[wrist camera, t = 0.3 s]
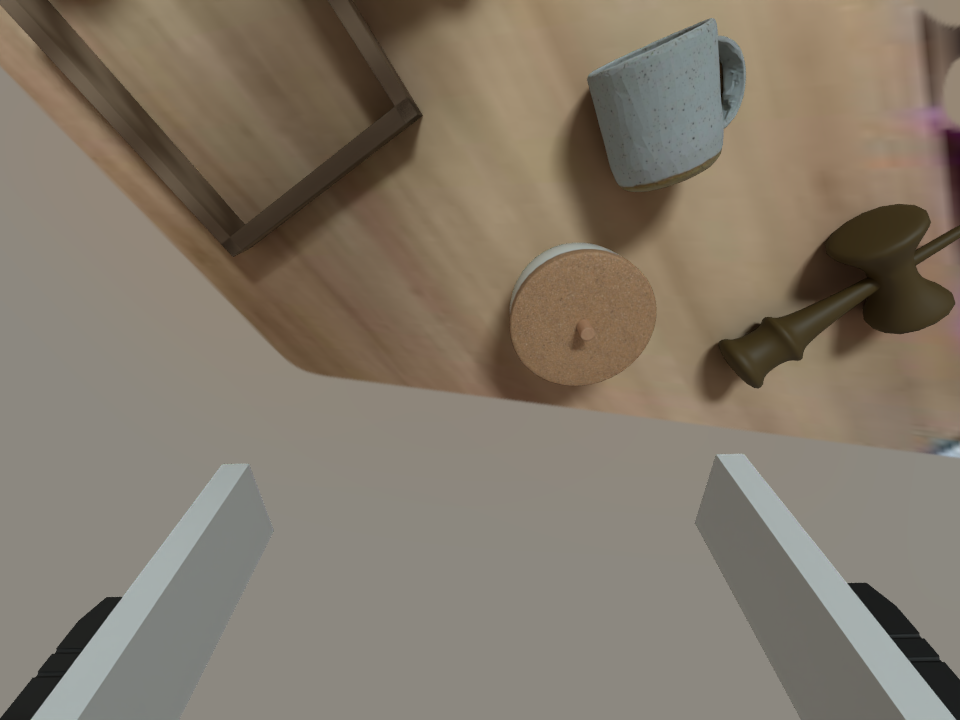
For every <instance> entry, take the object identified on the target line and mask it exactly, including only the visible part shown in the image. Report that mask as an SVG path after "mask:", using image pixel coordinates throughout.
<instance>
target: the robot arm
mask: <svg viewBox="0 0 960 720" xmlns="http://www.w3.org/2000/svg"><path fill="white" fill-rule="evenodd" d="M695 524H696V526H697V528H698V530H699V532H700V533H701V535H702V537H703V539H704V541H705V543H706V545H707V546H708V548H709V550H710V552H711V554H712V556H713V557H714V559H715V561H716V563H717V565H718V567H719V569H720V570H721V572H722V574H723V576H724V578H725V580H726V582H727V583H728V585H729V587H730V589H731V591H732V593H733V595H734V596H735V598H736V600H737V602H738V604H739V605H740V607H741V609H742V611H743V613H744V615H745V617H746V619H747V620H748V622H749V624H750V626H751V628H752V630H753V631H754V633H755V635H756V637H757V639H758V641H759V643H760V645H761V646H762V648H763V650H764V652H765V654H766V655H767V658H768V659H769V661H770V663H771V665H772V667H773V668H774V670H775V672H776V674H777V676H778V678H779V680H780V682H781V683H782V685H783V687H784V689H785V691H786V693H787V695H788V696H789V698H790V700H791V702H792V704H793V706H794V708H795V709H796V711H797V713H798V715H799V717H800V719H801V720H960V679H959V678H958V677H957V676H956V675H955V674H954V672H953V671H952V670H951V669H950V668H949V667H948V666H947V664H946V663H945V662H942V661H941V660H940V659H939V655H938V654H937V653H936V652H935V651H934V649H933V648H932V647H931V646H930V645H929V644H928V642H927V641H926V640H925V639H922V638H921V637H920V635H919V632H918V631H917V630H916V628H915V627H914V626H913V625H912V624H911V623H910V622H909V620H908V619H907V618H906V617H905V616H904V615H903V613H902V612H901V611H900V610H899V609H898V608H897V606H895V605H894V604H893V603H892V602H890V601H889V600H888V599H887V598H885V597H884V596H883V595H881V594H880V593H879V592H878V591H876V590H875V589H874V588H872V587H871V586H870V585H869V584H867V583H846V581H845V580H844V579H843V578H842V577H841V575H840V574H839V573H838V571H837V570H836V569H835V568H834V566H833V565H832V564H831V563H830V561H829V560H828V559H827V558H826V556H825V555H824V554H823V553H822V551H821V550H820V549H819V548H818V546H817V545H816V544H815V543H814V541H813V540H812V539H811V538H810V536H809V535H808V534H807V533H806V531H805V530H804V529H803V528H802V526H801V525H800V524H799V523H798V521H797V520H796V519H795V518H794V516H793V515H792V514H791V513H790V511H789V510H788V509H787V508H786V506H785V505H784V504H783V503H782V501H781V500H780V499H779V498H778V496H777V495H776V494H775V493H774V491H773V490H772V489H771V487H770V486H769V485H768V484H767V482H766V481H765V480H764V479H763V478H762V476H761V475H760V474H759V473H758V471H757V470H756V469H755V468H754V466H753V465H752V464H751V462H750V461H749V460H748V459H747V457H746V456H745V455H744V454H716V456H715V460H714V463H713V466H712V469H711V472H710V475H709V479H708V482H707V485H706V488H705V492H704V495H703V498H702V501H701V504H700V508H699V511H698V514H697V517H696V521H695ZM273 532H274V530H273V527H272V524H271V521H270V519H269V516H268V514H267V511H266V508H265V505H264V503H263V500H262V497H261V495H260V492H259V489H258V486H257V484H256V481H255V479H254V476H253V473H252V470H251V467H250V465H249V464H222V465H221V467H220V468H219V469H218V471H217V472H216V473H215V475H214V476H213V477H212V479H211V480H210V481H209V483H208V484H207V485H206V487H205V488H204V489H203V491H202V492H201V493H200V495H199V496H198V497H197V499H196V500H195V501H194V503H193V504H192V505H191V507H190V508H189V509H188V511H187V512H186V513H185V515H184V516H183V517H182V519H181V520H180V521H179V523H178V524H177V525H176V527H175V528H174V529H173V531H172V532H171V533H170V535H169V536H168V537H167V539H166V540H165V541H164V543H163V544H162V546H161V547H160V548H159V549H158V551H157V552H156V553H155V555H154V556H153V558H152V559H151V560H150V561H149V563H148V564H147V565H146V567H145V568H144V569H143V571H142V572H141V573H140V575H139V576H138V577H137V579H136V580H135V582H134V583H133V584H132V585H131V587H130V588H129V589H128V591H127V592H126V594H125V595H124V596H123V597H106V598H105V599H104V600H103V601H101V602H100V603H99V604H98V605H97V606H96V607H94V608H93V609H92V610H91V611H90V612H88V613H87V614H86V615H85V616H84V617H83V618H81V619H80V620H79V621H78V622H77V623H76V625H75V626H74V627H73V628H72V630H71V631H70V632H69V633H68V635H67V636H66V637H65V639H64V640H63V641H62V642H61V643H60V645H59V646H58V647H57V651H56V653H55V654H52V655H51V656H50V657H49V658H48V660H47V661H46V662H45V663H44V665H43V666H42V667H41V668H40V670H39V671H38V675H37V676H36V677H35V678H32V679H31V681H30V682H29V683H28V684H27V686H26V687H25V688H24V690H23V691H22V692H21V693H20V694H19V696H18V697H17V698H16V699H15V701H14V702H13V703H12V704H11V706H10V707H9V708H8V710H7V711H6V712H5V713H4V714H3V716H2V717H1V718H0V720H179V719H180V717H181V715H182V713H183V711H184V709H185V707H186V705H187V703H188V701H189V699H190V697H191V695H192V693H193V691H194V689H195V687H196V685H197V683H198V681H199V679H200V677H201V675H202V673H203V671H204V669H205V667H206V665H207V663H208V661H209V659H210V657H211V655H212V653H213V651H214V649H215V647H216V645H217V643H218V641H219V639H220V637H221V635H222V633H223V631H224V629H225V627H226V625H227V623H228V621H229V619H230V617H231V615H232V613H233V611H234V609H235V607H236V605H237V603H238V601H239V599H240V597H241V595H242V593H243V591H244V589H245V588H246V585H247V583H248V582H249V579H250V577H251V575H252V574H253V572H254V569H255V567H256V566H257V564H258V561H259V560H260V558H261V556H262V554H263V552H264V550H265V548H266V545H267V543H268V542H269V539H270V538H271V535H272V533H273Z"/></svg>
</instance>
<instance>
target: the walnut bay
mask: <svg viewBox="0 0 960 720" xmlns="http://www.w3.org/2000/svg"><path fill="white" fill-rule="evenodd" d="M328 2H329V3H330V5H331V6H332V8H333V9H334V11H335V13H336V14H337V16H338V17H339V19H340V20H341V22H342V24H343V25H344V27H345V28H346V30H347V31H348V33H349V35H350V36H351V38H352V39H353V41H354V43H355V44H356V46H357V47H358V49H359V50H360V52H361V54H362V55H363V57H364V58H365V60H366V61H367V63H368V65H369V66H370V68H371V69H372V71H373V72H374V74H375V76H376V77H377V79H378V80H379V82H380V83H381V85H382V87H383V88H384V90H385V91H386V93H387V94H388V96H389V98H390V99H391V101H392V102H393V104H394V106H395V107H394V108H392V109H391V110H390V111H389V112H387V113H386V114H385V115H384V116H382V117H381V118H380V119H379V120H377V121H376V122H375V123H373V124H372V125H371V126H370V127H368V128H367V129H366V130H365V131H363V132H362V133H361V134H360V135H358V136H357V137H356V138H355V139H353V140H352V141H351V142H349V143H348V144H347V145H346V146H344V147H343V148H342V149H341V150H339V151H338V152H337V153H336V154H334V155H333V156H332V157H331V158H329V159H328V160H327V161H325V162H324V163H323V164H322V165H320V166H319V167H318V168H317V169H315V170H314V171H313V172H312V173H310V174H309V175H308V176H306V177H305V178H304V179H303V180H301V181H300V182H299V183H298V184H296V185H295V186H294V187H293V188H291V189H290V190H289V191H288V192H286V193H285V194H284V195H282V196H281V197H280V198H279V199H277V200H276V201H275V202H274V203H272V204H271V205H270V206H269V207H267V208H266V209H265V210H264V211H262V212H261V213H260V214H258V215H257V216H256V217H255V218H253V219H252V220H251V221H250V222H248V223H247V224H246V225H245V224H244V223H243V222H242V221H241V220H240V219H239V217H238V216H237V215H236V214H235V213H234V212H233V211H232V209H231V208H230V207H229V206H228V205H227V204H226V203H225V201H224V200H223V199H222V198H221V197H220V196H219V195H218V193H217V192H216V191H215V190H214V189H213V188H212V187H211V186H210V184H209V183H208V182H207V181H206V180H205V179H204V178H203V176H202V175H201V174H200V173H199V172H198V171H197V170H196V168H195V167H194V166H193V165H192V164H191V163H190V162H189V160H188V159H187V158H186V157H185V156H184V155H183V154H182V152H181V151H180V150H179V149H178V148H177V147H176V146H175V145H174V143H173V142H172V141H171V140H170V139H169V138H168V137H167V135H166V134H165V133H164V132H163V131H162V130H161V129H160V127H159V126H158V125H157V124H156V123H155V122H154V121H153V119H152V118H151V117H150V116H149V115H148V114H147V113H146V112H145V110H144V109H143V108H142V107H141V106H140V105H139V104H138V102H137V101H136V100H135V99H134V98H133V97H132V96H131V94H130V93H129V92H128V91H127V90H126V89H125V88H124V86H123V85H122V84H121V83H120V82H119V81H118V80H117V78H116V77H115V76H114V75H113V74H112V73H111V72H110V71H109V69H108V68H107V67H106V66H105V65H104V64H103V63H102V61H101V60H100V59H99V58H98V57H97V56H96V55H95V53H94V52H93V51H92V50H91V49H90V48H89V47H88V45H87V44H86V43H85V42H84V41H83V40H82V39H81V38H80V36H79V35H78V34H77V33H76V32H75V31H74V30H73V28H72V27H71V26H70V25H69V24H68V23H67V22H66V20H65V19H64V18H63V17H62V16H61V15H60V14H59V12H58V11H57V10H56V9H55V8H54V7H53V6H52V4H51V3H50V2H49V1H48V0H0V5H1V6H2V7H3V8H4V9H5V10H6V12H7V13H8V14H9V15H10V16H11V17H12V18H13V19H14V20H15V21H16V22H17V23H18V25H19V26H20V27H21V28H22V29H23V30H24V31H25V32H26V33H27V34H28V35H29V36H30V38H31V39H32V40H33V41H34V42H35V43H36V44H37V45H38V46H39V47H40V48H41V49H42V51H43V52H44V53H45V54H46V55H47V56H48V57H49V58H50V59H51V60H52V61H53V62H54V64H55V65H56V66H57V67H58V68H59V69H60V70H61V71H62V72H63V73H64V74H65V75H66V77H67V78H68V79H69V80H70V81H71V82H72V83H73V84H74V85H75V86H76V87H77V88H78V90H79V91H80V92H81V93H82V94H83V95H84V96H85V97H86V98H87V99H88V100H89V101H90V103H91V104H92V105H93V106H94V107H95V108H96V109H97V110H98V111H99V112H100V113H101V114H102V116H103V117H104V118H105V119H106V120H107V121H108V122H109V123H110V124H111V125H112V126H113V127H114V129H115V130H116V131H117V132H118V133H119V134H120V135H121V136H122V137H123V138H124V139H125V140H126V142H127V143H128V144H129V145H130V146H131V147H132V148H133V149H134V150H135V151H136V152H137V153H138V155H139V156H140V157H141V158H142V159H143V160H144V161H145V162H146V163H147V164H148V165H149V166H150V168H151V169H152V170H153V171H154V172H155V173H156V174H157V175H158V176H159V177H160V178H161V179H162V181H163V182H164V183H165V184H166V185H167V186H168V187H169V188H170V189H171V190H172V191H173V192H174V194H175V195H176V196H177V197H178V198H179V199H180V200H181V201H182V202H183V203H184V204H185V205H186V206H187V208H188V209H189V210H190V211H191V212H192V213H193V214H194V215H195V216H196V217H197V218H198V219H199V221H200V222H201V223H202V224H203V225H204V226H205V227H206V228H207V229H208V230H209V231H210V232H211V234H212V235H213V236H214V237H215V238H216V239H217V240H218V241H219V242H220V243H221V244H222V245H223V247H224V248H225V249H226V250H227V251H228V252H229V253H230V254H231V255H232V256H233V257H234V256H236V255H238V254H240V253H241V252H243V251H245V250H247V249H249V248H251V247H252V246H253V245H255V244H256V243H257V242H259V241H260V240H261V239H262V238H264V237H265V236H266V235H268V234H269V233H270V232H272V231H273V230H274V229H275V228H277V227H278V226H279V225H281V224H282V223H283V222H285V221H286V220H287V219H288V218H290V217H291V216H292V215H294V214H295V213H296V212H298V211H299V210H300V209H301V208H303V207H304V206H305V205H307V204H308V203H309V202H311V201H312V200H313V199H315V198H316V197H317V196H318V195H320V194H321V193H322V192H324V191H325V190H326V189H328V188H329V187H330V186H331V185H333V184H334V183H335V182H337V181H338V180H339V179H341V178H342V177H343V176H344V175H346V174H347V173H348V172H350V171H351V170H352V169H354V168H355V167H356V166H357V165H359V164H360V163H361V162H363V161H364V160H365V159H367V158H368V157H369V156H370V155H372V154H373V153H374V152H376V151H377V150H378V149H380V148H381V147H382V146H383V145H385V144H386V143H387V142H389V141H390V140H391V139H393V138H394V137H395V136H396V135H398V134H399V133H400V132H402V131H403V130H404V129H406V128H407V127H408V126H410V125H411V124H412V123H413V122H415V121H416V120H417V119H419V118H420V117H421V116H423V115H422V113H421V112H420V110H419V108H418V107H417V105H416V104H415V102H414V100H413V99H412V97H411V95H410V94H409V92H408V90H407V89H406V87H405V86H404V84H403V82H402V81H401V79H400V77H399V76H398V74H397V73H396V71H395V69H394V68H393V66H392V64H391V63H390V61H389V60H388V58H387V56H386V55H385V53H384V51H383V50H382V48H381V46H380V45H379V43H378V42H377V40H376V38H375V37H374V35H373V33H372V32H371V30H370V29H369V27H368V25H367V24H366V22H365V20H364V19H363V17H362V16H361V14H360V12H359V11H358V9H357V7H356V6H355V4H354V2H353V1H352V0H328Z"/></svg>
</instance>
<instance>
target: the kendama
mask: <svg viewBox="0 0 960 720" xmlns="http://www.w3.org/2000/svg"><path fill="white" fill-rule="evenodd" d="M930 223H931V221H930V219H929V216H928V213H927V211H926V210H924V209H922V208H920V207H918V206H915V205H905V204H895V205H889V206H882V207H878V208H876V209H873V210H870V211H868V212H865V213H862V214H860V215H859V216H857V217H855V218H853V219H851V220H849V221H848V222H846V223H845V224H844V225H842V226H841V227H840V228H838V229H837V230H836V231H835V232H833V233H832V235H831V236H830V237H829V239H828V240H827V242H826V243H825V244H826V252H827V254H828V255H829V256H831V257H832V258H833V259H834V260H836V261H838V262H841V263H844V264H847V265H851V266H854V267H857V268H860V269H862V270H863V271H864V273H865V274H866V276H867V278H865V279H863V280H862V281H860V282H858V283H856V284H854V285H852V286H850V287H848V288H846V289H844V290H842V291H840V292H838V293H836V294H834V295H832V296H830V297H828V298H826V299H824V300H822V301H819V302H817V303H815V304H813V305H811V306H808V307H806V308H804V309H802V310H799V311H797V312H794V313H792V314H789V315H786V316H783V317H779V318H772V317H765V318H764V319H763V320H762V323H761V325H760V326H759V327H758V328H757V329H756V330H754V331H753V332H751V333H749V334H747V335H745V336H743V337H741V338H738V339H733V340H729V339H724V340H721V341H720V342H719V347H720V350H721V353H722V355H723V356H724V358H725V360H726V361H727V363H728V364H729V365H730V366H731V368H732V369H733V370H734V371H735V373H736V374H737V375H738V376H739V377H740V378H741V379H742V380H743V381H744V382H746V383H747V384H748V385H750V386H752V387H754V388H760V387H761V386H762V385H763V381H764V377H765V376H766V374H767V373H768V372H770V371H771V370H772V369H773V368H775V367H776V366H778V365H780V364H782V363H784V362H786V361H790V360H796V361H799V360H801V359H802V358H803V352H804V349H805V348H806V346H807V345H808V344H809V343H810V342H811V341H812V340H813V339H814V338H815V337H816V336H817V335H819V334H820V333H821V332H822V331H823V330H825V329H826V328H827V327H828V326H830V325H831V324H832V323H833V322H835V321H836V320H837V319H839V318H840V317H841V316H842V315H844V314H845V313H846V312H848V311H849V310H850V309H852V308H853V307H855V306H856V305H857V304H859V303H860V302H862V301H863V300H864V299H866V298H867V299H866V302H865V304H864V307H863V317H864V320H865V321H866V322H867V323H868V324H869V325H870V326H871V327H872V328H873V329H876V330H879V331H881V332H884V333H893V334H904V333H909V332H914V331H919V330H921V329H924V328H926V327H928V326H931V325H933V324H935V323H937V322H938V321H940V320H941V319H942V318H944V317H945V316H947V315H948V314H949V313H950V311H951V310H952V308H953V306H954V305H955V300H954V297H953V294H952V293H951V292H950V291H949V290H947V289H946V288H944V287H942V286H941V285H939V284H937V283H935V282H932V281H930V280H927V279H925V278H923V277H922V276H921V275H920V274H919V273H918V271H917V268H916V265H917V264H919V263H921V262H922V261H924V260H925V259H927V258H929V257H930V256H932V255H933V254H935V253H936V252H938V251H940V250H941V249H943V248H944V247H946V246H948V245H949V244H951V243H952V242H954V241H955V240H957V239H959V238H960V225H959V226H957V227H955V228H954V229H952V230H950V231H948V232H946V233H945V234H943V235H941V236H939V237H938V238H936V239H934V240H932V241H931V242H929V243H927V244H926V245H924V246H922V247H920V248H919V249H917V250H916V248H917V246H918V244H919V243H920V241H921V239H922V238H923V236H924V235H925V233H926V231H927V230H928V228H929V226H930Z"/></svg>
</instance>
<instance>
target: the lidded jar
mask: <svg viewBox="0 0 960 720" xmlns="http://www.w3.org/2000/svg"><path fill="white" fill-rule="evenodd" d="M655 321H656V301H655V296H654V293H653V290H652V287H651V285H650V284H649V282H648V280H647V278H646V277H645V276H644V275H643V274H642V272H641V271H640V270H639V269H638V268H637V267H636V266H634V265H633V264H632V263H631V262H629V261H628V260H626V259H625V258H623V257H621V256H620V255H618V254H617V253H615V252H613V251H611V250H609V249H607V248H604V247H602V246H599V245H596V244H590V243H566V244H561V245H558V246H555V247H552V248H550V249H548V250H546V251H544V252H542V253H541V254H540V255H538V256H537V257H535V258H534V259H533V260H532V261H531V262H530V263H529V264H528V265H527V266H526V267H525V269H524V270H523V271H522V273H521V275H520V276H519V278H518V280H517V282H516V284H515V287H514V289H513V292H512V297H511V302H510V320H509V328H510V335H511V340H512V344H513V347H514V349H515V351H516V353H517V355H518V357H519V358H520V360H521V361H522V362H523V364H524V365H525V366H526V367H527V368H528V369H529V370H530V371H532V372H533V373H534V374H536V375H537V376H539V377H541V378H543V379H545V380H547V381H549V382H553V383H556V384H561V385H568V386H582V385H589V384H594V383H598V382H601V381H604V380H606V379H609V378H611V377H613V376H615V375H616V374H618V373H620V372H622V371H623V370H624V369H626V368H627V367H628V366H630V365H631V364H632V363H633V362H634V361H635V360H636V359H637V358H638V357H639V355H640V354H641V353H642V351H643V350H644V349H645V347H646V345H647V344H648V342H649V340H650V338H651V335H652V333H653V330H654V326H655Z"/></svg>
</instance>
